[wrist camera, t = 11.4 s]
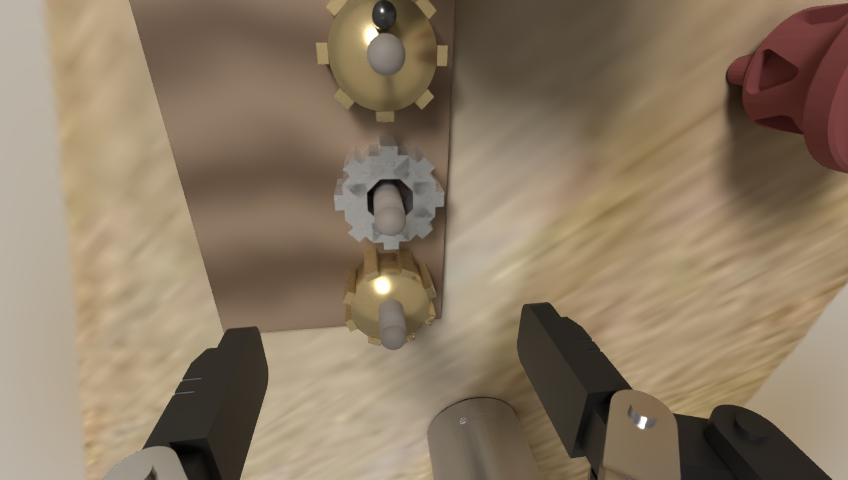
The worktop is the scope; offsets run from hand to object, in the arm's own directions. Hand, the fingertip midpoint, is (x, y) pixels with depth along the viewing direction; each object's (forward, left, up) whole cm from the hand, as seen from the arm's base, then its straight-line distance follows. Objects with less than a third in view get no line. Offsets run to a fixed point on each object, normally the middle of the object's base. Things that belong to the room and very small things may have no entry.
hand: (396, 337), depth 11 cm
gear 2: (-7, 0, -14) cm, 16 cm away
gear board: (0, +4, -15) cm, 16 cm away
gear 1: (+8, 0, -14) cm, 16 cm away
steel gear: (0, -1, -14) cm, 14 cm away
